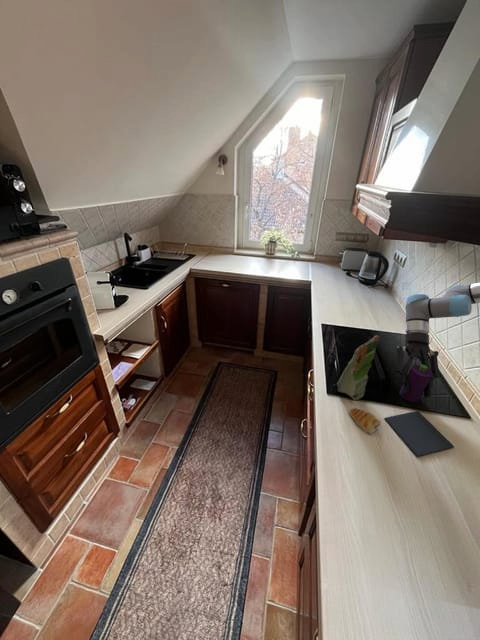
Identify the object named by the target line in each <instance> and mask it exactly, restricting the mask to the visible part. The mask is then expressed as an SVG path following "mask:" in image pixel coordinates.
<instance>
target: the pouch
mask: <svg viewBox="0 0 480 640" xmlns="http://www.w3.org/2000/svg"><path fill="white" fill-rule="evenodd" d="M380 338H381V336H379V335H378V334H376V335H374V336H373V337H372V338H370V339H369V340H367V341H366V342H365V343H363V344H362V345H360V346H358V347H357V348H356V349H355V350H354V354H353V356H352V358H351V359H350V361H348V362H347V366H346V367H345V368H344V370H343V371H342V374H341V375H340V377H339V379H338V381H337V383H336V386H337V392H338V393H342V394H346V395H347V396H348V397H350V398H351V399H352V400H353V401H358V400H361V399H362V398H363V397H364V396H365V392H366V386H367V383H368V380H369V376H368V375H369V374H368V373H369V372H370V371H369V370H370V369H371V368H372V367H373V365H372V362H373V359H374V358H375V353H376V349H377V347H378V345H379V341H380Z"/></svg>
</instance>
